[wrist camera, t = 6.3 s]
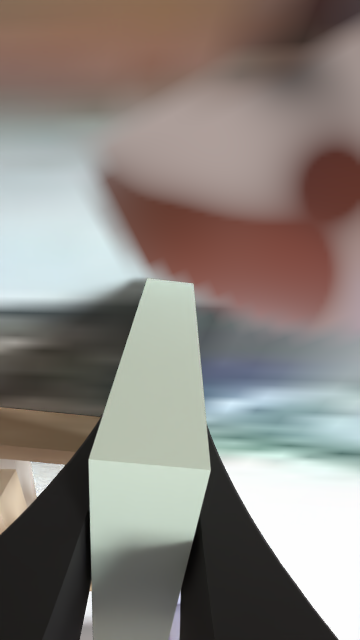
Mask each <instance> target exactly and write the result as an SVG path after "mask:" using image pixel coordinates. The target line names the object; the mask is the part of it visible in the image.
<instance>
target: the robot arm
mask: <svg viewBox="0 0 360 640" xmlns="http://www.w3.org/2000/svg"><path fill="white" fill-rule="evenodd" d="M103 413H104V412H103ZM102 416H103V414H102ZM102 416H101V417H100V419H99V421H98V422H97V424H96V425H95V427H94V428H93V430H92V431H91V432H90V434H89V435H88V437H87V438H86V440H85V441H84V442H83V444H82V445H81V446H80V447H79V449H78V450H77V451H76V453H75V454H74V455H73V457H72V458H71V459H70V460H69V462H68V463H67V464H66V465H65V466H64V468H63V469H62V470H61V471H60V472H59V473H58V475H57V476H56V477H55V478H54V479H53V480H52V482H51V483H50V484H49V485H48V486H47V487H46V489H45V490H44V491H43V492H42V493H41V494H40V495H39V496H38V497H37V498H36V499H35V500H34V502H33V503H32V504H31V505H30V506H29V507H28V508H27V509H26V510H25V511H24V512H23V513H22V514H21V515H20V516H19V517H18V518H17V519H16V520H15V521H14V522H13V523H12V524H11V525H10V526H9V527H8V528H7V529H6V530H5V531H4V532H2V533H1V534H0V640H80V635H81V630H82V625H83V620H84V615H85V610H86V605H87V600H88V595H89V591H90V586H91V581H92V578H91V537H90V497H89V456H90V453H91V450H92V447H93V444H94V441H95V438H96V435H97V432H98V429H99V426H100V423H101V419H102ZM206 424H207V423H206ZM207 435H208V445H209V456H210V467H211V471H210V475H209V479H208V483H207V487H206V491H205V495H204V499H203V503H202V507H201V511H200V515H199V519H198V523H197V527H196V531H195V535H194V539H193V543H192V547H191V551H190V555H189V559H188V563H187V567H186V571H185V575H184V579H183V583H182V587H181V591H180V595H179V599H178V603H177V607H176V611H175V615H174V619H173V623H172V627H171V630H170V634H169V638H168V640H338V638H337V637H336V636H335V635H334V633H333V632H332V631H331V630H330V628H329V627H328V626H327V624H326V623H325V622H324V621H323V619H322V618H321V617H320V616H319V614H318V613H317V612H316V611H315V609H314V608H313V607H312V605H311V604H310V603H309V601H308V600H307V599H306V597H305V596H304V594H303V593H302V592H301V590H300V589H299V588H298V586H297V585H296V584H295V582H294V581H293V579H292V578H291V577H290V575H289V574H288V573H287V571H286V570H285V568H284V567H283V566H282V564H281V563H280V561H279V560H278V558H277V557H276V555H275V554H274V552H273V551H272V549H271V548H270V546H269V545H268V543H267V542H266V540H265V539H264V537H263V536H262V534H261V532H260V531H259V529H258V528H257V526H256V524H255V523H254V521H253V519H252V518H251V516H250V514H249V513H248V511H247V509H246V507H245V506H244V504H243V502H242V500H241V498H240V497H239V495H238V493H237V491H236V489H235V487H234V485H233V483H232V481H231V480H230V477H229V475H228V473H227V471H226V469H225V467H224V465H223V463H222V461H221V459H220V456H219V454H218V452H217V449H216V447H215V445H214V442H213V440H212V437H211V435H210V432H209V429H208V426H207Z"/></svg>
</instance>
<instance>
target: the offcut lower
mask: <svg viewBox="0 0 360 640" xmlns="http://www.w3.org/2000/svg"><path fill="white" fill-rule="evenodd" d="M0 469H16V472H17V475H18V478H19V481H20V484H21V488H22V491H23V494H24V498H25V501H26V504H27V508H28V507H29V506H30V505H31V504H32V503H33V502H34V500H35V499H36V498H37V497H36V491H35V485H34V479H33V473H32V467H31V461H21V460H10V459H0Z"/></svg>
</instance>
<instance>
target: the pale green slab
mask: <svg viewBox="0 0 360 640" xmlns="http://www.w3.org/2000/svg"><path fill="white" fill-rule="evenodd" d="M210 471H211V467H210V456H209V445H208V435H207V424H206V413H205V403H204V392H203V381H202V371H201V360H200V350H199V339H198V328H197V318H196V307H195V296H194V286H193V284H192V283H183V282H175V281H166V280H158V279H149V278H147V281H146V284H145V287H144V290H143V293H142V296H141V299H140V302H139V305H138V308H137V312H136V315H135V318H134V321H133V324H132V327H131V330H130V333H129V336H128V339H127V342H126V345H125V349H124V352H123V355H122V358H121V361H120V364H119V367H118V370H117V373H116V376H115V379H114V382H113V386H112V389H111V392H110V395H109V398H108V401H107V404H106V407H105V410H104V413H103V416H102V419H101V423H100V426H99V429H98V432H97V435H96V438H95V441H94V444H93V447H92V450H91V453H90V456H89V497H90V537H91V578H92V618H93V640H168V638H169V634H170V630H171V627H172V623H173V619H174V615H175V611H176V607H177V603H178V599H179V595H180V591H181V587H182V583H183V579H184V575H185V571H186V567H187V563H188V559H189V555H190V551H191V547H192V543H193V539H194V535H195V531H196V527H197V523H198V519H199V515H200V511H201V507H202V503H203V499H204V495H205V491H206V487H207V483H208V479H209V475H210Z"/></svg>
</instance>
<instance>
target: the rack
mask: <svg viewBox="0 0 360 640" xmlns="http://www.w3.org/2000/svg"><path fill="white" fill-rule="evenodd" d="M99 419H100V417H95V416H85V415H75V414H65V413H54V412H44V411H34V410H24V409H14V408H4V407H0V459H10V460H21V461H32V462H43V463H54V464H65V465H66V464H67V463H68V462H69V460H70V459H71V458H72V457H73V455H74V454H75V453H76V451H77V450H78V449H79V447H80V446H81V445H82V444H83V442H84V441H85V440H86V438H87V437H88V435H89V434H90V432H91V431H92V430H93V428H94V427H95V425H96V424H97V422H98V421H99ZM90 591H92V581H91V586H90Z"/></svg>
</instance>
